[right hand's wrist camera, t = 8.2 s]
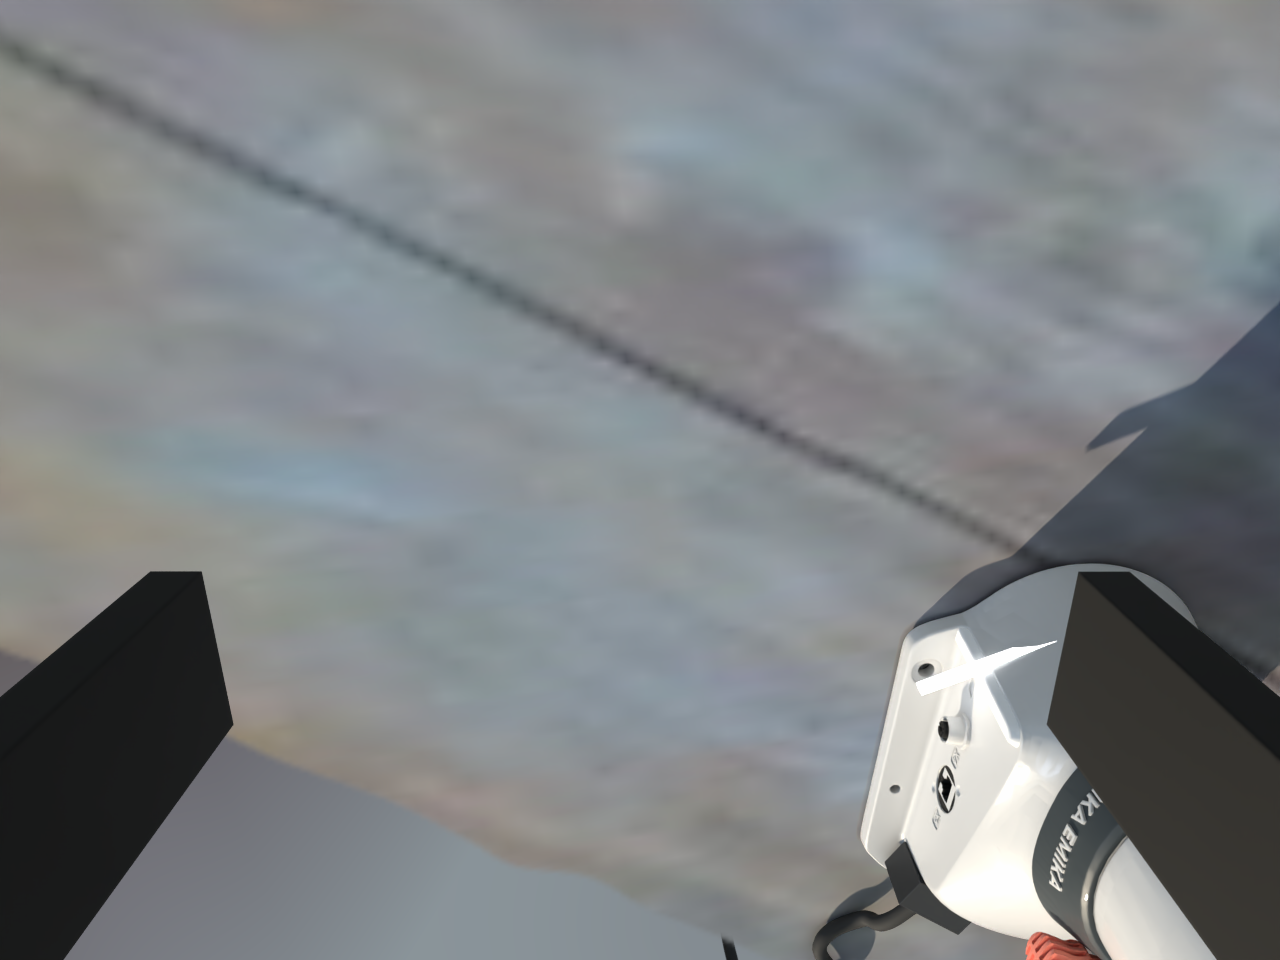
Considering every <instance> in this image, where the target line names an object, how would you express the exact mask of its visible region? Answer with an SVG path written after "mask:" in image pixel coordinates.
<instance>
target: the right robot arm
mask: <svg viewBox="0 0 1280 960" xmlns="http://www.w3.org/2000/svg"><path fill="white" fill-rule="evenodd" d="M232 726H233V720H232V715H231V710H230V706H229V701H228V696H227V691H226V686H225V682H224V677H223V672H222V667H221V662H220V658H219V653H218V648H217V643H216V638H215V633H214V629H213V624H212V619H211V614H210V609H209V605H208V600H207V595H206V590H205V585H204V581H203V576H202V572H149V573H148V574H147V575H146V576H144V577H143V578H142V579H141V580H140V581H139V582H137V583H136V584H135V585H134V586H133V587H131V588H130V589H129V590H128V591H127V592H125V593H124V594H123V595H122V596H121V597H119V598H118V599H117V600H116V601H115V602H113V603H112V604H111V605H110V606H109V607H107V608H106V609H105V610H104V611H103V612H101V613H100V614H99V615H98V616H97V617H95V618H94V619H93V620H92V621H91V622H89V623H88V624H87V625H86V626H85V627H84V628H82V629H81V630H80V631H79V632H78V633H76V634H75V635H74V636H73V637H72V638H70V639H69V640H68V641H67V642H66V643H64V644H63V645H62V646H61V647H60V648H58V649H57V650H56V651H55V652H54V653H52V654H51V655H50V656H49V657H48V658H46V659H45V660H44V661H43V662H42V663H40V664H39V665H38V666H37V667H36V668H34V669H33V670H32V671H31V672H30V673H29V674H27V675H26V676H25V677H24V678H23V679H21V680H20V681H19V682H18V683H17V684H15V685H14V686H13V687H12V688H11V689H9V690H8V691H7V692H6V693H5V694H3V695H2V696H1V697H0V960H64V958H65V957H66V955H67V954H68V953H69V951H70V950H71V949H72V947H73V946H74V944H75V943H76V942H77V940H78V939H79V937H80V936H81V935H82V933H83V932H84V930H85V929H86V928H87V926H88V925H89V924H90V922H91V921H92V919H93V918H94V917H95V915H96V914H97V913H98V911H99V910H100V908H101V907H102V906H103V904H104V903H105V902H106V900H107V899H108V897H109V896H110V895H111V893H112V892H113V890H114V889H115V888H116V886H117V885H118V883H119V882H120V881H121V879H122V878H123V877H124V875H125V874H126V872H127V871H128V870H129V868H130V867H131V866H132V864H133V863H134V861H135V860H136V859H137V857H138V856H139V854H140V853H141V852H142V850H143V849H144V848H145V846H146V845H147V843H148V842H149V841H150V839H151V838H152V836H153V835H154V834H155V832H156V831H157V829H158V828H159V827H160V825H161V824H162V823H163V821H164V820H165V819H166V817H167V816H168V814H169V813H170V812H171V810H172V809H173V807H174V806H175V805H176V803H177V802H178V801H179V799H180V798H181V796H182V795H183V794H184V792H185V791H186V789H187V788H188V787H189V785H190V784H191V783H192V781H193V780H194V778H195V777H196V776H197V774H198V773H199V771H200V770H201V769H202V767H203V766H204V764H205V763H206V762H207V760H208V759H209V758H210V756H211V755H212V753H213V752H214V751H215V749H216V748H217V747H218V745H219V744H220V742H221V741H222V740H223V738H224V737H225V736H226V734H227V733H228V731H229V730H230V729H231V727H232ZM1047 726H1048V727H1049V729H1050V730H1051V731H1052V733H1053V734H1054V736H1055V737H1056V738H1057V740H1058V741H1059V742H1060V744H1061V745H1062V747H1063V748H1064V749H1065V751H1066V752H1067V753H1068V755H1069V756H1070V758H1071V759H1072V760H1073V762H1074V763H1075V765H1076V766H1077V767H1078V769H1079V770H1080V771H1081V773H1082V774H1083V776H1084V777H1085V778H1086V780H1087V781H1088V783H1089V784H1090V785H1091V787H1092V788H1093V789H1094V791H1095V792H1096V794H1097V795H1098V796H1099V798H1100V799H1101V801H1102V802H1103V803H1104V805H1105V806H1106V807H1107V809H1108V810H1109V812H1110V813H1111V814H1112V816H1113V817H1114V819H1115V820H1116V821H1117V823H1118V824H1119V825H1120V827H1121V828H1122V830H1123V831H1124V832H1125V834H1126V835H1127V837H1128V838H1129V839H1130V841H1131V842H1132V843H1133V845H1134V846H1135V848H1136V849H1137V850H1138V852H1139V853H1140V854H1141V856H1142V857H1143V859H1144V860H1145V861H1146V863H1147V864H1148V866H1149V867H1150V868H1151V870H1152V871H1153V872H1154V874H1155V875H1156V877H1157V878H1158V879H1159V881H1160V882H1161V884H1162V885H1163V886H1164V888H1165V889H1166V890H1167V892H1168V893H1169V895H1170V896H1171V897H1172V899H1173V900H1174V902H1175V903H1176V904H1177V906H1178V907H1179V908H1180V910H1181V911H1182V913H1183V914H1184V915H1185V917H1186V918H1187V920H1188V921H1189V922H1190V924H1191V925H1192V926H1193V928H1194V929H1195V931H1196V932H1197V933H1198V935H1199V936H1200V937H1201V939H1202V940H1203V942H1204V943H1205V944H1206V946H1207V947H1208V949H1209V950H1210V951H1211V953H1212V954H1213V955H1214V957H1215V958H1216V960H1280V697H1279V696H1278V695H1277V694H1275V693H1274V692H1273V691H1272V690H1271V689H1269V688H1268V687H1267V686H1266V685H1265V684H1263V683H1262V682H1261V681H1260V680H1259V679H1257V678H1256V677H1255V676H1254V675H1253V674H1251V673H1250V672H1249V671H1248V670H1247V669H1246V668H1244V667H1243V666H1242V665H1241V664H1240V663H1238V662H1237V661H1236V660H1235V659H1234V658H1232V657H1231V656H1230V655H1229V654H1228V653H1226V652H1225V651H1224V650H1223V649H1222V648H1220V647H1219V646H1218V645H1217V644H1216V643H1214V642H1213V641H1212V640H1211V639H1210V638H1208V637H1207V636H1206V635H1205V634H1204V633H1202V632H1201V631H1200V630H1199V629H1198V628H1196V627H1195V626H1194V625H1193V624H1192V623H1191V622H1189V621H1188V620H1187V619H1186V618H1185V617H1183V616H1182V615H1181V614H1180V613H1179V612H1177V611H1176V610H1175V609H1174V608H1173V607H1171V606H1170V605H1169V604H1168V603H1167V602H1165V601H1164V600H1163V599H1162V598H1161V597H1159V596H1158V595H1157V594H1156V593H1155V592H1153V591H1152V590H1151V589H1150V588H1149V587H1147V586H1146V585H1145V584H1144V583H1143V582H1141V581H1140V580H1139V579H1138V578H1137V577H1136V576H1134V575H1133V574H1132V573H1131V572H1078V576H1077V581H1076V585H1075V590H1074V595H1073V600H1072V605H1071V609H1070V614H1069V619H1068V624H1067V629H1066V633H1065V638H1064V643H1063V648H1062V653H1061V657H1060V662H1059V667H1058V672H1057V677H1056V682H1055V686H1054V691H1053V696H1052V701H1051V706H1050V710H1049V715H1048V720H1047Z"/></svg>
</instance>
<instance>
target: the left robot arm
mask: <svg viewBox="0 0 1280 960" xmlns="http://www.w3.org/2000/svg"><path fill="white" fill-rule="evenodd" d="M1078 572H1131V573H1132V574H1133V575H1134V576H1136V577H1137V578H1138V579H1139V580H1140V581H1141V582H1143V583H1144V584H1145V585H1146V586H1147V587H1149V588H1150V589H1151V590H1152V591H1153V592H1155V593H1156V594H1157V595H1158V596H1159V597H1161V598H1162V599H1163V600H1164V601H1165V602H1167V603H1168V604H1169V605H1170V606H1171V607H1173V608H1174V609H1175V610H1176V611H1177V612H1179V613H1180V614H1181V615H1182V616H1183V617H1185V618H1186V619H1187V620H1188V621H1189V622H1191V623H1192V624H1193V625H1194V626H1195V627H1196V628H1198V627H1197V625H1196V623H1195V621H1194V619H1193V617H1192V615H1191V613H1190V611H1189V610H1188V608H1187V607H1186V605H1185V604H1184V603H1183V601H1182V600H1181V599H1180V598H1179V597H1178V596H1177V595H1176V594H1175V593H1174V592H1173V591H1172V590H1171V589H1170V588H1168V587H1167V586H1166V585H1164V584H1163V583H1161V582H1160V581H1158V580H1156V579H1155V578H1153V577H1151V576H1149V575H1147V574H1144V573H1142V572H1139V571H1136V570H1133V569H1130V568H1126V567H1122V566H1116V565H1110V564H1094V563H1087V564H1073V565H1066V566H1060V567H1055V568H1051V569H1047V570H1043V571H1040V572H1037V573H1034V574H1031V575H1029V576H1026V577H1024V578H1022V579H1019V580H1017V581H1015V582H1013V583H1011V584H1009V585H1007V586H1005V587H1004V588H1002V589H1000V590H999V591H997V592H995V593H994V594H992V595H991V596H989V597H988V598H986V599H985V600H983V601H982V602H980V603H979V604H977V605H976V606H974V607H972V608H971V609H969V610H967V611H965V612H963V613H960V614H956V615H951V616H948V617H944V618H940V619H936V620H933V621H930V622H927V623H924V624H922V625H919V626H917V627H916V628H914V629H913V630H911V631H910V632H909V633H908V634H907V636H906V638H905V639H904V642H903V646H902V650H901V654H900V659H899V663H898V667H897V672H896V676H895V681H894V685H893V690H892V694H891V698H890V703H889V707H888V712H887V716H886V720H885V725H884V729H883V734H882V738H881V743H880V747H879V751H878V756H877V760H876V765H875V769H874V773H873V778H872V782H871V787H870V791H869V796H868V800H867V804H866V809H865V813H864V818H863V823H862V827H861V836H860V837H861V841H862V843H863V845H864V847H865V849H866V851H867V852H868V853H869V854H870V855H871V856H872V857H873V858H874V859H875V860H876V861H877V862H878V863H879V864H880V865H882V866H883V867H884V868H886V869H887V871H888V874H889V877H890V880H891V882H892V885H893V888H894V891H895V894H896V897H897V900H898V902H899V905H898V906H897V907H895V908H894V909H892V910H890V911H889V912H886V913H884V914H881V915H877V914H876V913H874V912H871V911H866V910H863V911H858V912H855V913H851V914H848V915H845V916H842V917H840V918H837V919H835V920H833V921H831V922H830V923H828V924H827V925H825V926H824V927H823V928H822V929H821V930H820V931H819V932H818V933H817V935H816V937H815V940H814V942H813V949H812V950H813V954H814V956H815V959H816V960H833V959H832V958H831V957H830V956H829V954H828V953H827V946H828V945H829V943H830V942H831V941H832V940H833V939H835V938H836V937H838V936H840V935H841V934H844V933H846V932H848V931H851V930H854V929H858V928H862V927H866V926H868V927H870V928H871V929H873V930H877V931H887V930H890V929H893V928H895V927H897V926H899V925H900V924H902V923H903V922H905V921H906V920H908V919H909V918H911V917H912V916H913V915H915V914H916V913H917V914H919V915H921V916H923V917H924V918H926V919H928V920H930V921H932V922H934V923H936V924H938V925H940V926H942V927H944V928H946V929H948V930H950V931H952V932H954V933H955V934H957V935H959V934H960V933H961V932H962V931H963V930H964V929H965V928H966V927H967V926H968V925H969V924H970V923H971V922H973V923H975V924H977V925H980V926H982V927H985V928H987V929H990V930H993V931H996V932H1000V933H1003V934H1006V935H1010V936H1015V937H1019V938H1023V939H1028V940H1029V941H1028V943H1027V947H1026V955H1028V956H1027V959H1026V960H1216V958H1215V957H1214V955H1213V954H1212V953H1211V951H1210V950H1209V949H1208V947H1207V946H1206V944H1205V943H1204V942H1203V940H1202V939H1201V937H1200V936H1199V935H1198V933H1197V932H1196V931H1195V929H1194V928H1193V926H1192V925H1191V924H1190V922H1189V921H1188V920H1187V918H1186V917H1185V915H1184V914H1183V913H1182V911H1181V910H1180V908H1179V907H1178V906H1177V904H1176V903H1175V902H1174V900H1173V899H1172V897H1171V896H1170V895H1169V893H1168V892H1167V890H1166V889H1165V888H1164V886H1163V885H1162V884H1161V882H1160V881H1159V879H1158V878H1157V877H1156V875H1155V874H1154V872H1153V871H1152V870H1151V868H1150V867H1149V866H1148V864H1147V863H1146V861H1145V860H1144V859H1143V857H1142V856H1141V854H1140V853H1139V852H1138V850H1137V849H1136V848H1135V846H1134V845H1133V843H1132V842H1131V841H1130V839H1129V838H1128V837H1127V835H1126V834H1125V832H1124V831H1123V830H1122V828H1121V827H1120V825H1119V824H1118V823H1117V821H1116V820H1115V819H1114V817H1113V816H1112V814H1111V813H1110V812H1109V810H1108V809H1107V807H1106V806H1105V805H1104V803H1103V802H1102V801H1101V799H1100V798H1099V796H1098V795H1097V794H1096V792H1095V791H1094V789H1093V788H1092V787H1091V785H1090V784H1089V783H1088V781H1087V780H1086V778H1085V777H1084V776H1083V774H1082V773H1081V771H1080V770H1079V769H1078V767H1077V766H1076V765H1075V763H1074V762H1073V760H1072V759H1071V758H1070V756H1069V755H1068V753H1067V752H1066V751H1065V749H1064V748H1063V747H1062V745H1061V744H1060V742H1059V741H1058V740H1057V738H1056V737H1055V736H1054V734H1053V733H1052V731H1051V730H1050V729H1049V727H1048V726H1047V720H1048V715H1049V710H1050V706H1051V701H1052V696H1053V691H1054V686H1055V682H1056V677H1057V672H1058V667H1059V662H1060V657H1061V653H1062V648H1063V643H1064V638H1065V633H1066V629H1067V624H1068V619H1069V614H1070V609H1071V605H1072V600H1073V595H1074V590H1075V585H1076V581H1077V576H1078ZM925 663H930V664H929V666H928V667H927V668H925V669H919V667H920V666H921V665H923V664H925ZM722 943H723V948H724V952H725V957H726V960H738V957H737V953H736V949H735V945H734V942H731V941H728V940H727V939H725V938H722ZM1084 946H1085V947H1086V948H1087V949H1089V950H1090V951H1091V952H1092V954H1093V955H1092V954H1088V952H1087V950H1086V948H1085V947H1084Z"/></svg>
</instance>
